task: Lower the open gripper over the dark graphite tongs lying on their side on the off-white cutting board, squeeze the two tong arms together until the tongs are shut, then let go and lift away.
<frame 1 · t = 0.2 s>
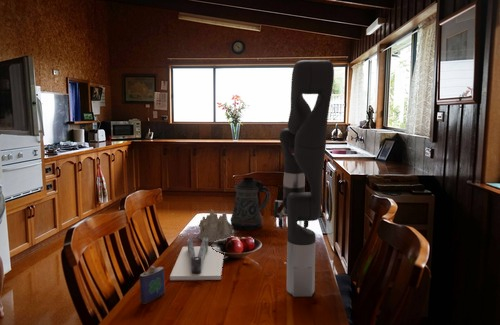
hand: (293, 228, 142), 17 cm above the table, tool pointing down, fingers open, 8 cm apart
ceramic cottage: (216, 237, 186), on the table
cutting board: (200, 263, 154), on the table
flask: (153, 298, 126), on the table
tongs arm: (191, 252, 154), point 4 cm above the table, hinge at 10.0°
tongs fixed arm: (196, 276, 142), resting on cutting board
beer stein: (248, 225, 204), on the table
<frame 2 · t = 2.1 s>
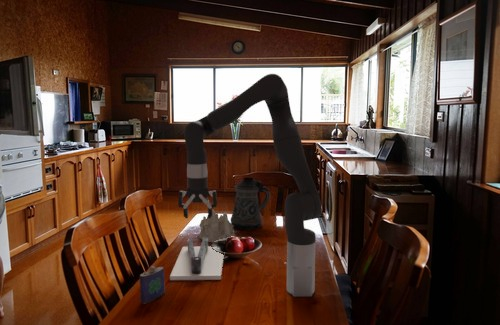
hand: (198, 217, 147), 19 cm above the table, tool pointing down, fingers open, 8 cm apart
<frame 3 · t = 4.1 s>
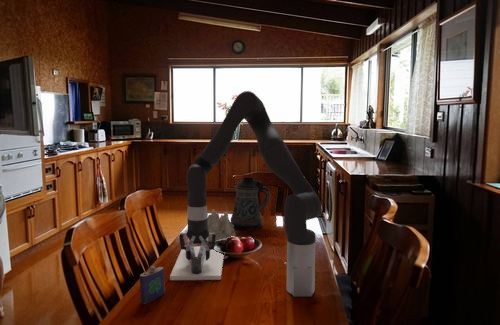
hand: (198, 259, 150), 3 cm above the table, tool pointing down, fingers open, 6 cm apart
tongs arm: (191, 252, 154), point 4 cm above the table, hinge at 10.0°, touching gripper
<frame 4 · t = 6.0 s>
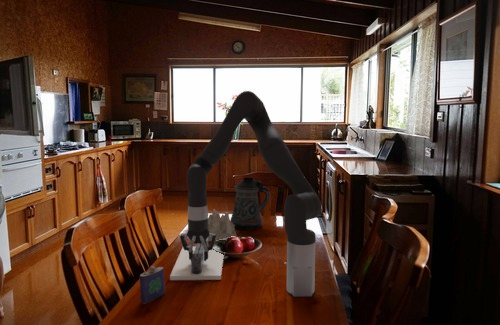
hand: (198, 260, 150), 3 cm above the table, tool pointing down, fingers open, 4 cm apart
tongs arm: (197, 252, 154), point 4 cm above the table, hinge at -0.5°
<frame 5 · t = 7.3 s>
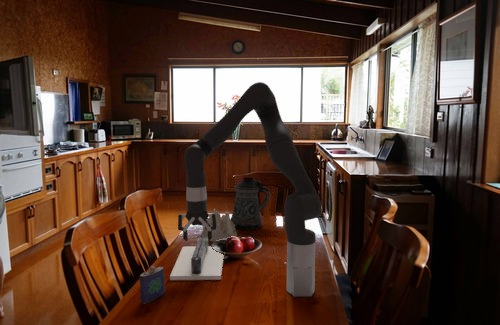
hand: (197, 240, 148), 11 cm above the table, tool pointing down, fingers open, 8 cm apart
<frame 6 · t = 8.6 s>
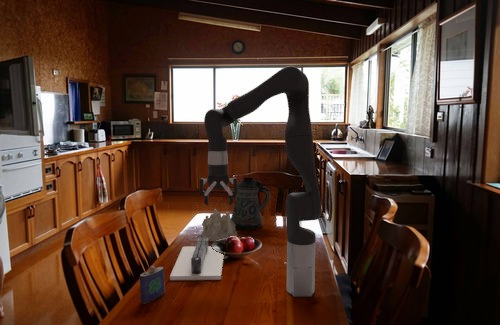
hand: (218, 205, 149), 24 cm above the table, tool pointing down, fingers open, 8 cm apart
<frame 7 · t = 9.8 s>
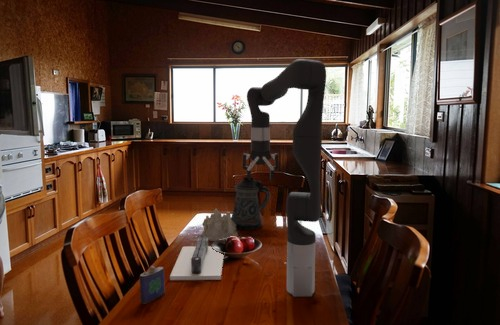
hand: (260, 179, 156), 32 cm above the table, tool pointing down, fingers open, 8 cm apart
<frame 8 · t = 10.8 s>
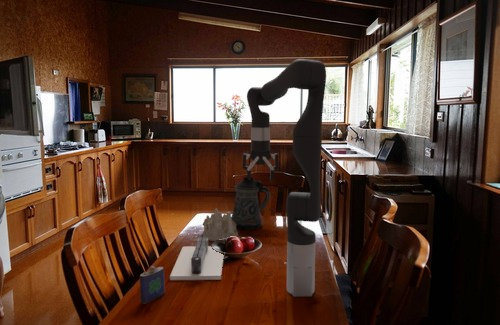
hand: (260, 179, 156), 32 cm above the table, tool pointing down, fingers open, 8 cm apart
at the end: tongs arm at +0° (first picture: +10°); the gripper is holding nothing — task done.
